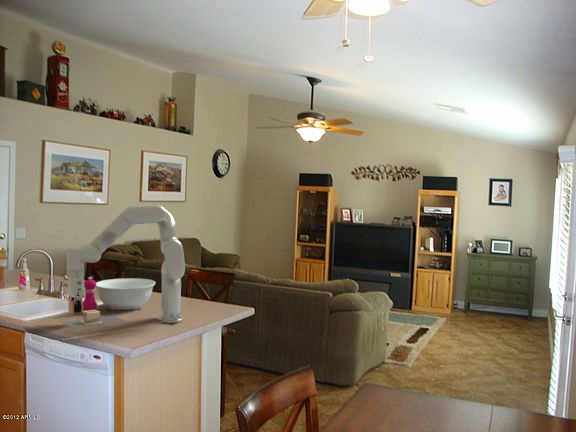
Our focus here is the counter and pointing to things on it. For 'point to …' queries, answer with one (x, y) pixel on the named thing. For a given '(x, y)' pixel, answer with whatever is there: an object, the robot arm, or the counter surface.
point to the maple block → (91, 316)
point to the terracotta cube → (71, 306)
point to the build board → (102, 321)
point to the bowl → (125, 292)
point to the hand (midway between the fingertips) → (75, 310)
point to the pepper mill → (89, 295)
